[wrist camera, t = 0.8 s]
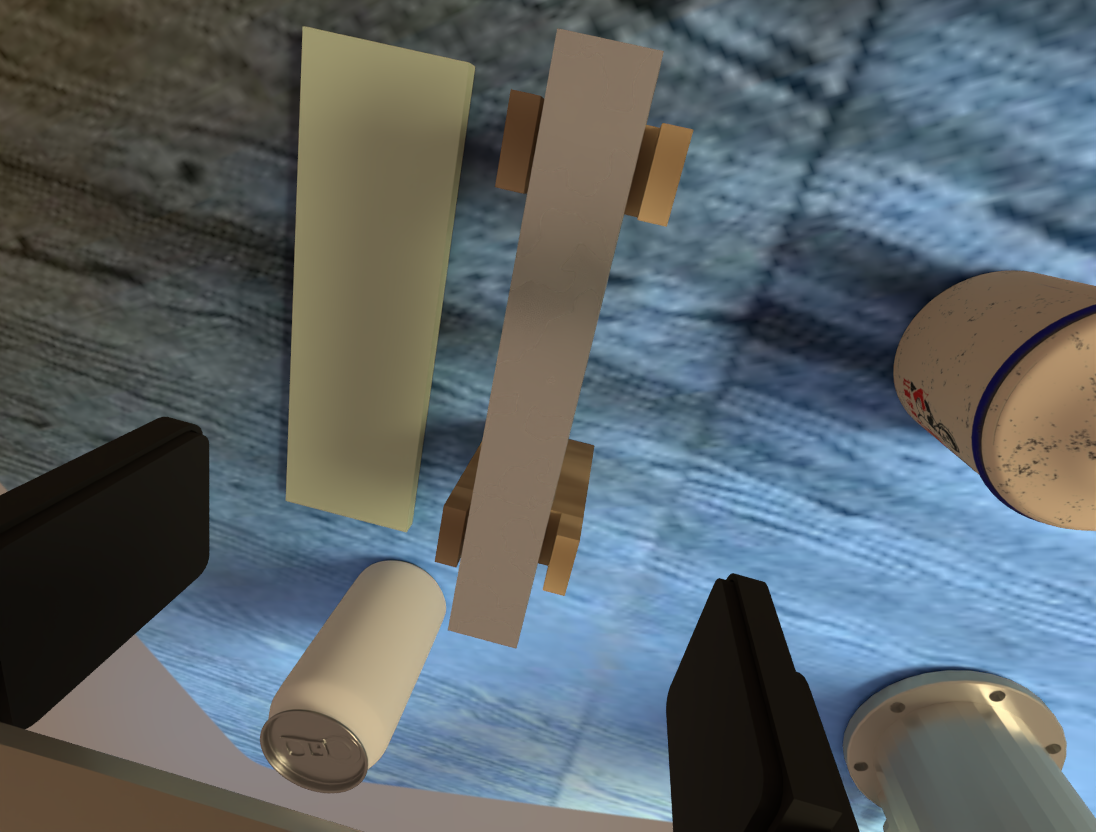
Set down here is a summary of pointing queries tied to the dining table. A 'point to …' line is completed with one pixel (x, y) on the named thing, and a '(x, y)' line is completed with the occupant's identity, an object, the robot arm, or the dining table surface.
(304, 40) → the mat
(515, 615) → the rail
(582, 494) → the post
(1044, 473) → the teacup with lid
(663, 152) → the post
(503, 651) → the dining table surface
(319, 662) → the can
